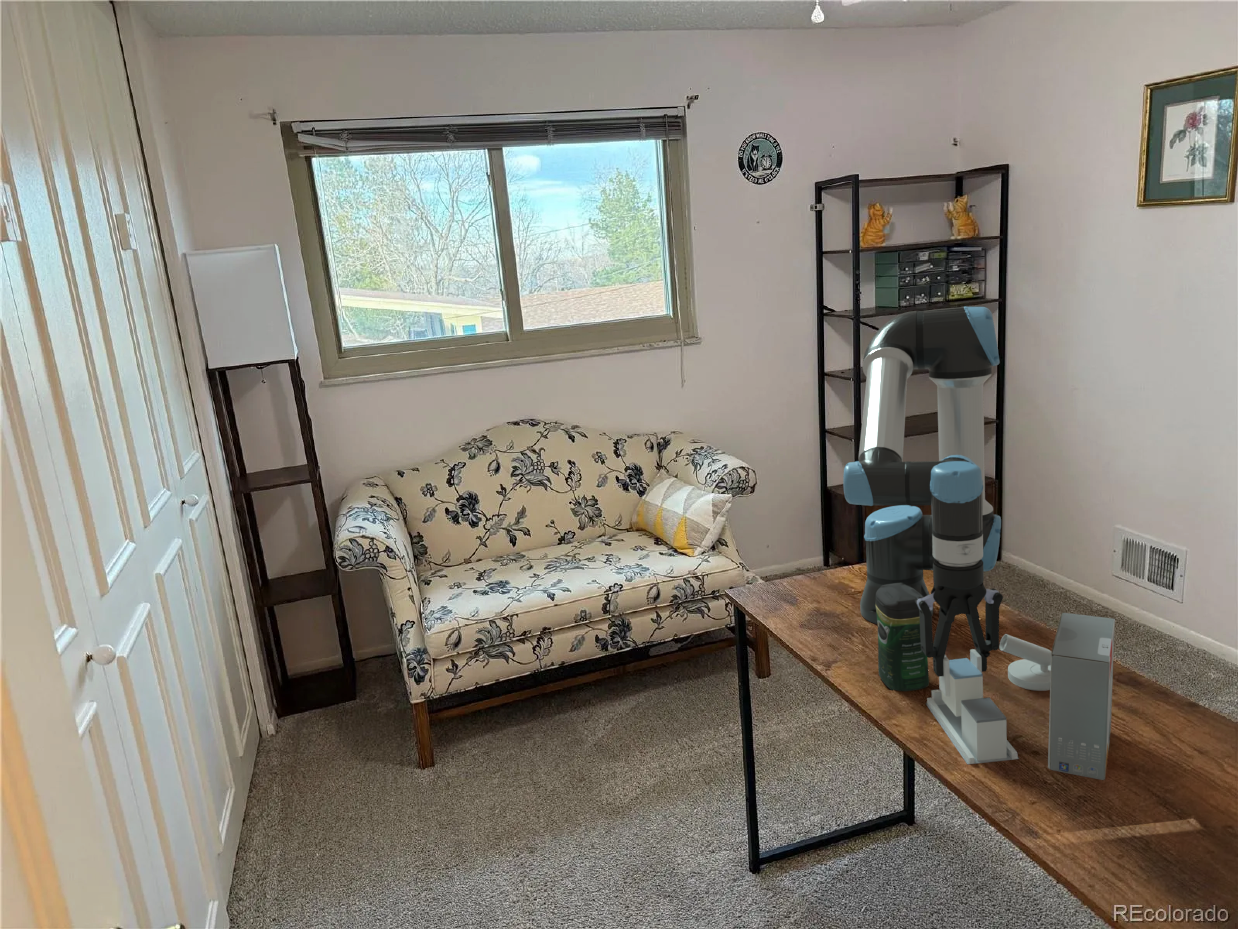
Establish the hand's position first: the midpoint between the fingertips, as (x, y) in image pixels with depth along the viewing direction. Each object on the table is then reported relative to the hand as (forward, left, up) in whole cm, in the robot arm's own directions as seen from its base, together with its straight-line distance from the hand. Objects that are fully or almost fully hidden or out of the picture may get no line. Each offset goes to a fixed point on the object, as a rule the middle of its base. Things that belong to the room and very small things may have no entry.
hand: (960, 690), depth 140 cm
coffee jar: (-15, -5, -6) cm, 17 cm away
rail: (+3, 0, -6) cm, 7 cm away
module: (+1, 0, -3) cm, 3 cm away
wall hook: (-10, +16, -7) cm, 20 cm away
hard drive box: (+11, +14, -6) cm, 19 cm away
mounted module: (+9, 0, -5) cm, 10 cm away
